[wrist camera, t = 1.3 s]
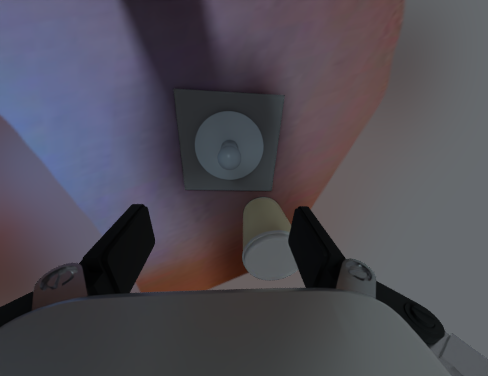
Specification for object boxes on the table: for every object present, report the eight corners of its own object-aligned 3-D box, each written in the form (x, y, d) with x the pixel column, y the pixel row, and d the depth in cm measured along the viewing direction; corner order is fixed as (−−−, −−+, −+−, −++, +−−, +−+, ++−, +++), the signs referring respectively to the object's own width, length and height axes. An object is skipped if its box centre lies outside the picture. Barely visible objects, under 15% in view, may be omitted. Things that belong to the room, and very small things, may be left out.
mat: (174, 88, 25) (173, 88, 24) (283, 95, 26) (284, 95, 26) (185, 188, 32) (185, 189, 31) (270, 189, 33) (271, 190, 33)
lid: (193, 109, 26) (179, 111, 19) (266, 112, 27) (278, 116, 20) (198, 177, 31) (188, 199, 24) (259, 178, 31) (267, 199, 25)
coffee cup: (233, 225, 37) (234, 277, 26) (247, 187, 33) (256, 229, 22) (273, 234, 39) (290, 285, 28) (291, 199, 35) (318, 243, 24)
